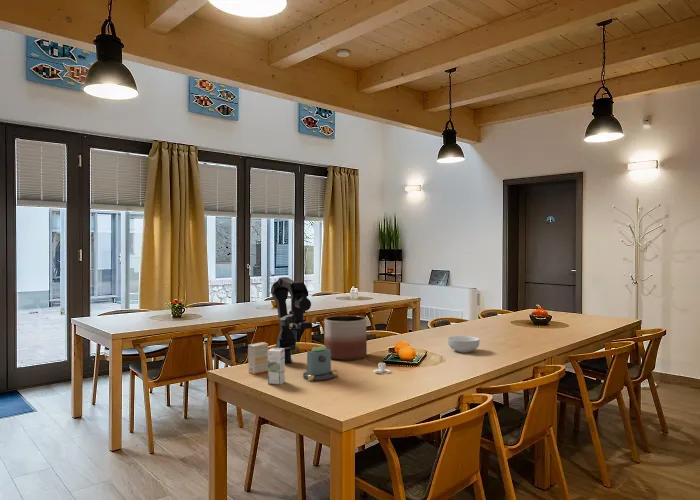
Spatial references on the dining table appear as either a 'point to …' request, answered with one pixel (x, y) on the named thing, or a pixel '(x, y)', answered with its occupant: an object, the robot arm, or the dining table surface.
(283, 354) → the syrup box
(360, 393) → the dining table surface
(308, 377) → the base
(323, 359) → the grey upright slab
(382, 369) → the white lobed piece
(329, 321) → the planter
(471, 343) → the cereal bowl
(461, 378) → the dining table surface
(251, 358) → the supplement box
